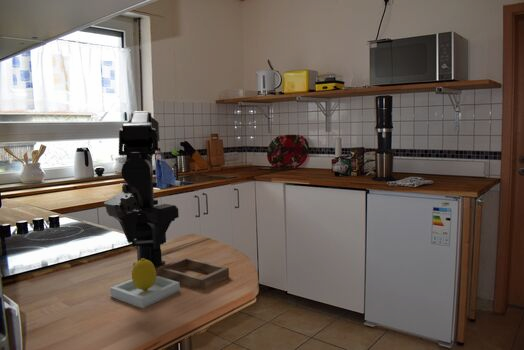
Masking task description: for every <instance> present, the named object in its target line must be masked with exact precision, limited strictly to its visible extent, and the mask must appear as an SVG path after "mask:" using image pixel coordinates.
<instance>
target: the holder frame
mask: <svg viewBox="0 0 524 350" xmlns="http://www.w3.org/2000/svg"><path fill="white" fill-rule="evenodd" d="M184 269H190V270H194V271H197V272H202V273H203V274H204V273H205V274H206V275H204V276H203V277H199V276H196V275H193V274H189V273H186V272H181V271H183V270H184ZM229 269H230V268H229V267H227V266H223V265H219V264H216V263H212V262H206V261H202V260H198V259H195V258H191V257H186V256H185V257H182V258H179V259H177V260H175V261H172V262H169V263H167V264H165V265H164V264H163V265H160V266H158V267H157V274H158V275H157V276H160V277H163V278H167V279H170V280H174V281H177V282H180V284H181V285H183V286H188V287H191V288H194V289H198V290H201V291H204V290H205V289H208V288H210V287H212V286H214V285H216V284H218V283H220V282H222V281H224V280H226V279H228V278H229V277H230V271H229Z"/></svg>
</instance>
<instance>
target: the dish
mask: <svg viewBox="0 0 524 350" xmlns="http://www.w3.org/2000/svg"><path fill="white" fill-rule="evenodd" d="M180 286H181V285H180V282H177V281H174V280H170V279H167V278H163V277H160V276H158V275H157V274H156V281H155V283H154V285H153V286H152V287H151V288H149V289H148V290H147V291H143V290H142V289H138V288H137V287H136V286H135V285H134V283H133V280H132V278H131V279H129V280H126V281H124V282H121V283H118V284H116V285H113V286H110V289H109V290H110V297H111V298H114V299H116V300H119V301H121V302H124V303H128V304H130V305H132V306H136V307H138V308H141V309H145V308H147V307H149V306H151V305H153V304H155V303H157V302H160V301H162V300H164V299H166V298H168V297H171V296H172V295H174V294H177V293H180V292H181V287H180Z"/></svg>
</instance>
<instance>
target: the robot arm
mask: <svg viewBox="0 0 524 350" xmlns="http://www.w3.org/2000/svg"><path fill="white" fill-rule="evenodd" d="M118 131H119V132H118V156H125V157H126V158H125V162H124V164H123V165H122V168H121V170H120V171H121V176H122V179H123V180H124V181H125V182H126V183H123V184H122V188H121V192H119V193H117V194H114V195H113V196H112V197H110V198H108V199H107V200H105V201H104V202H103V205H104V207H105V210H106V213H107V214H108V216H109V217H112V218H114V219H115V220H117V221H118V222H119V224H120V226H121V228H122V230H123V233H124V236H125V238H126V242H127V243H129V244H131V245H132V247H134V248H135V247H136V254H137V256H136V257H137V262H138V261H139V260H141V259H142V258H144V259H146V260H149V261H151V262H152V263H153V265H154V267H155V268H156V267H157V268H158V267H160V266H163V265H164V264H165V265H166V261H165V260H162V248H161V246H163V245H164V244H165V243H167V232H168V229H169V228H170V225H171V223H172V222H175V220H176V219H177V218H179V215H180V214H179V208H178V207H177V205H175V204H168V203H163V204H162V203H161V204H159V201H158V199H155V196H154V195H155V194H154V188H157V187H158V182H156V181H154V172H153V168H154V167H153V156H154V155H156V151H159V142H160V125H159V122H158V120H156V119H155V118H154V117H153V116H152V112H151V111H149V110H139V111H138V110H137V111H136V110H134V111H132V112H131V117H130V120H128V121H127V122H124V123H123V124H122V127H121V128H119V130H118ZM135 263H136V262H134V263H133V265H132V266H134V265H135Z"/></svg>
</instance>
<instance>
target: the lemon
mask: <svg viewBox="0 0 524 350" xmlns="http://www.w3.org/2000/svg"><path fill="white" fill-rule="evenodd" d="M134 263H135V265H133V266H132V270H131V279H132V280H133V283H134V285H135V286H136V287H137V288H138V289H142V290H143V291H147V290H148V289H149V288H151V287H152V286H153V285H154V283H155V281H156V275H157V271H156V267H154V265H153V263H152V262H151V261H149V260H146V259H144V258H142V259H141V260H139V261H138V260H137V261H136V262H134Z"/></svg>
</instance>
